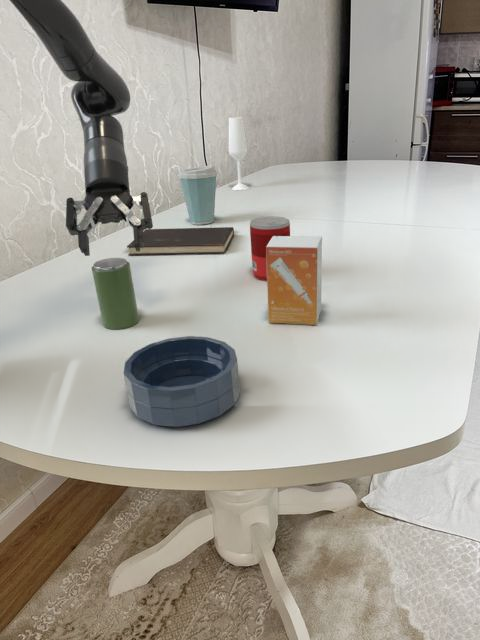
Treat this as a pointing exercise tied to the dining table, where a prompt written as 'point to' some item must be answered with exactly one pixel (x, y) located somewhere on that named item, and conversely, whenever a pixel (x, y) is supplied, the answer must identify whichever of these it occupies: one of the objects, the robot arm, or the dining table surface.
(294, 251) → the small box
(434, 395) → the dining table surface
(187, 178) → the disposable coffee cup
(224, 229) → the hardcover book
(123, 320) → the slim can
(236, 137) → the champagne flute
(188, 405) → the bowl
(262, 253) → the canned food
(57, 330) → the dining table surface
